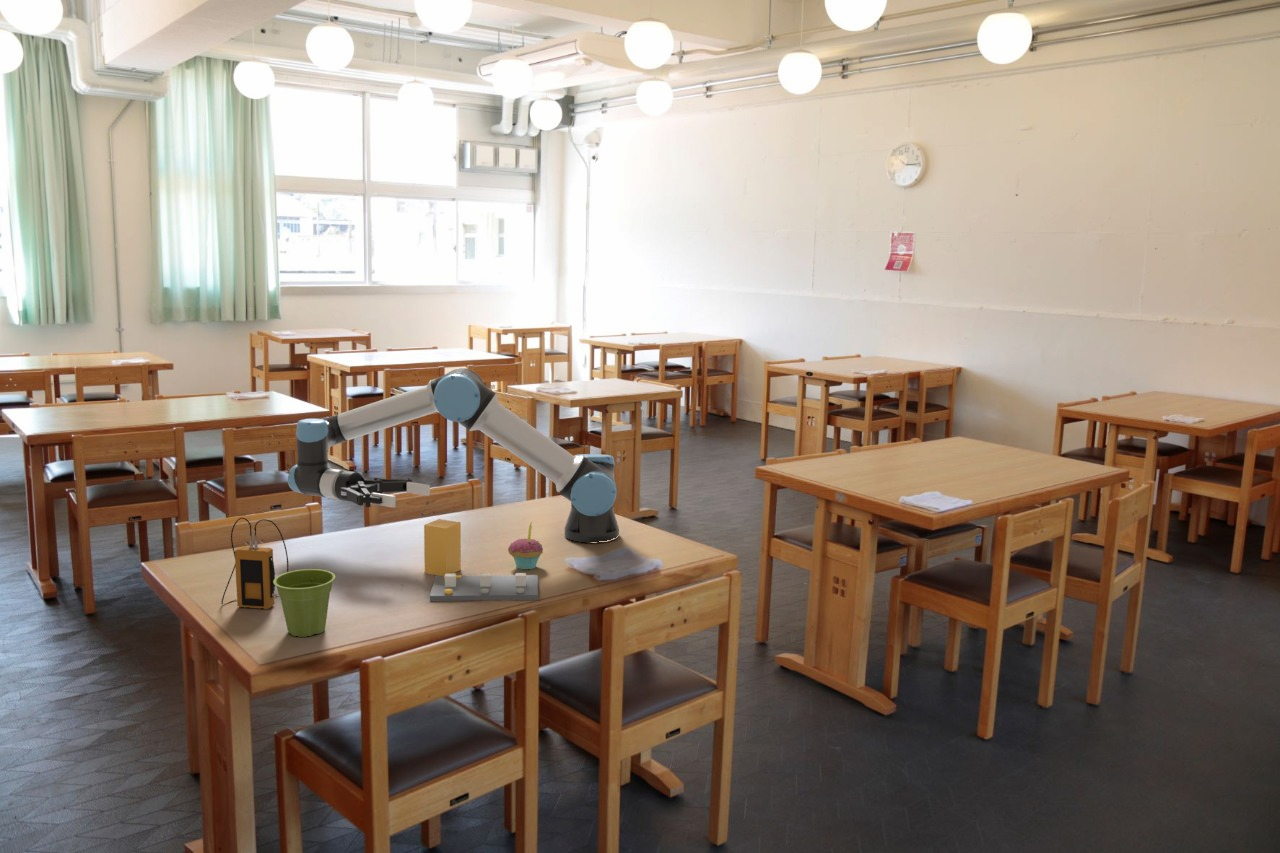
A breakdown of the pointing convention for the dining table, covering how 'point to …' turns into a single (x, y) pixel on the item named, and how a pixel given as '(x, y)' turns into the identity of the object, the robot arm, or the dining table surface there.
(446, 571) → the cap
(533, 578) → the board
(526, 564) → the cupcake
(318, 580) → the plant pot
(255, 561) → the multimeter
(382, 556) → the dining table surface
